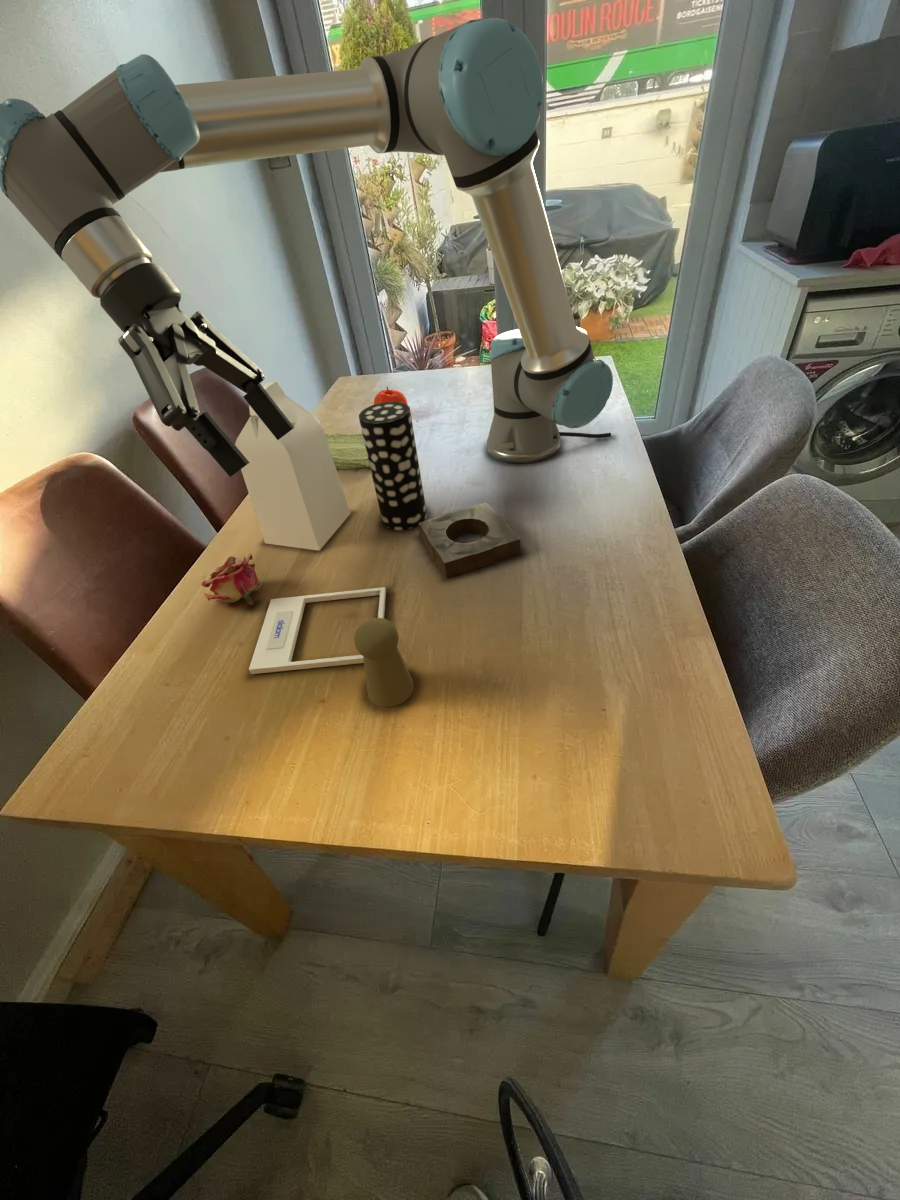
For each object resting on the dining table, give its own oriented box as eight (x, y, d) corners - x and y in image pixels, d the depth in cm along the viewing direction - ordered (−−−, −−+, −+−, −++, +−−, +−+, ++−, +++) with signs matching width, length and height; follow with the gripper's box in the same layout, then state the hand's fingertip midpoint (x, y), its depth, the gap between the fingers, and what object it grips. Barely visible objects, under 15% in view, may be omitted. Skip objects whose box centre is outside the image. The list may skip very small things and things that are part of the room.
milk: (299, 507, 108) (254, 373, 91) (350, 513, 105) (313, 374, 88) (265, 543, 100) (208, 403, 83) (319, 550, 96) (271, 405, 79)
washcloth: (374, 471, 116) (371, 457, 114) (298, 470, 120) (294, 457, 118) (391, 442, 126) (389, 429, 124) (321, 443, 130) (317, 430, 128)
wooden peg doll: (368, 674, 73) (349, 613, 66) (413, 667, 73) (398, 607, 66) (366, 710, 69) (346, 650, 62) (414, 704, 69) (399, 642, 62)
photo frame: (270, 598, 86) (384, 586, 85) (272, 603, 87) (386, 591, 86) (248, 668, 75) (378, 655, 74) (250, 674, 76) (380, 661, 75)
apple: (370, 424, 135) (363, 391, 130) (389, 411, 140) (384, 379, 135) (396, 428, 131) (390, 395, 126) (415, 415, 136) (410, 382, 131)
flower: (286, 582, 88) (256, 540, 86) (244, 610, 80) (210, 565, 79) (254, 602, 93) (226, 563, 92) (213, 630, 86) (181, 588, 85)
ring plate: (488, 515, 99) (487, 500, 97) (522, 554, 89) (521, 539, 87) (419, 536, 96) (416, 522, 94) (446, 579, 87) (443, 564, 85)
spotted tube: (420, 530, 98) (402, 423, 84) (376, 529, 99) (351, 423, 86) (431, 505, 104) (415, 401, 90) (389, 504, 105) (367, 402, 92)
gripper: (169, 294, 70) (282, 436, 78) (16, 316, 49) (191, 506, 57) (208, 255, 67) (320, 407, 75) (61, 261, 46) (240, 470, 55)
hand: (265, 450), depth 66 cm, fingers open, 13 cm apart
